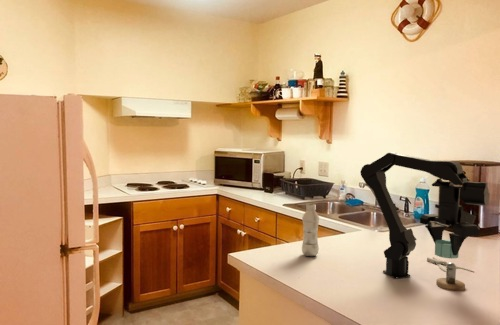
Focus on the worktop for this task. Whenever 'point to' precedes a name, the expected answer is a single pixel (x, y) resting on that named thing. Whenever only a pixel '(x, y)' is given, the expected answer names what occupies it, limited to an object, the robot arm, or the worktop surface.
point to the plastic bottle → (310, 231)
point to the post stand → (450, 279)
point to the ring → (444, 249)
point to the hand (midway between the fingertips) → (446, 252)
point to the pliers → (439, 262)
